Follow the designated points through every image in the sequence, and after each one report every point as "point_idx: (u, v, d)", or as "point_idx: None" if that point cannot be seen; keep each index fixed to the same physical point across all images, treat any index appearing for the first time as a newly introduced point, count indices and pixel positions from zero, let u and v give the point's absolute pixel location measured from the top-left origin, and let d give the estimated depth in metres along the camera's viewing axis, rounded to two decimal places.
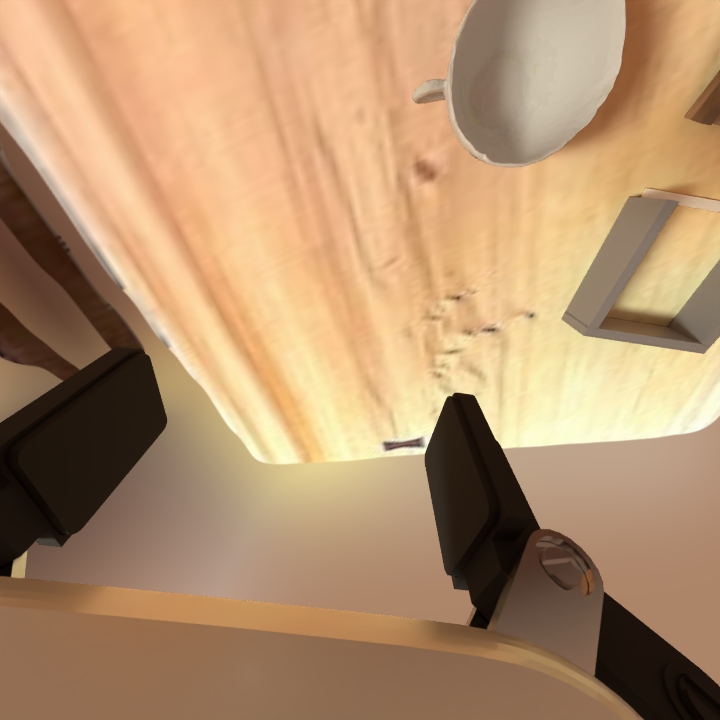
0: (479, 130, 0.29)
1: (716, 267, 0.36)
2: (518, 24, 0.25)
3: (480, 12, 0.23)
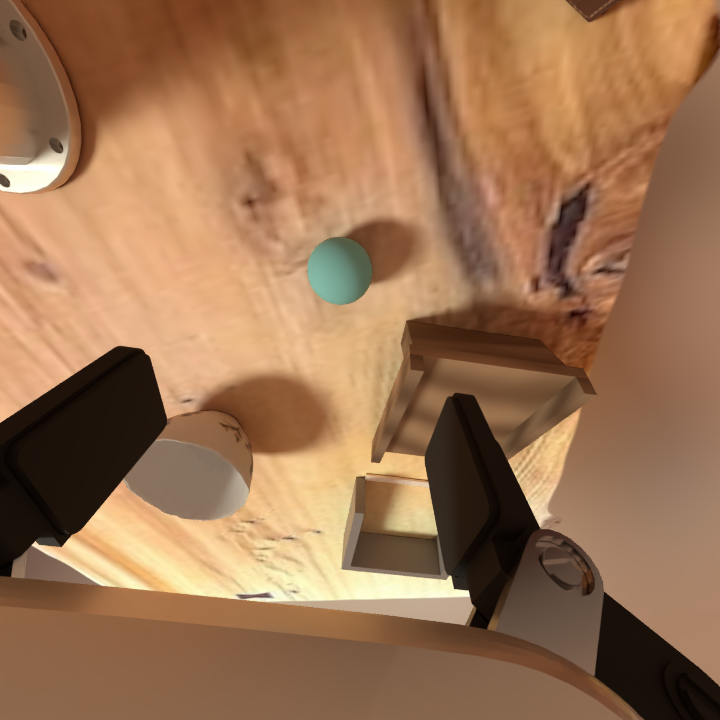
0: (209, 451, 0.36)
1: None
2: None
3: None
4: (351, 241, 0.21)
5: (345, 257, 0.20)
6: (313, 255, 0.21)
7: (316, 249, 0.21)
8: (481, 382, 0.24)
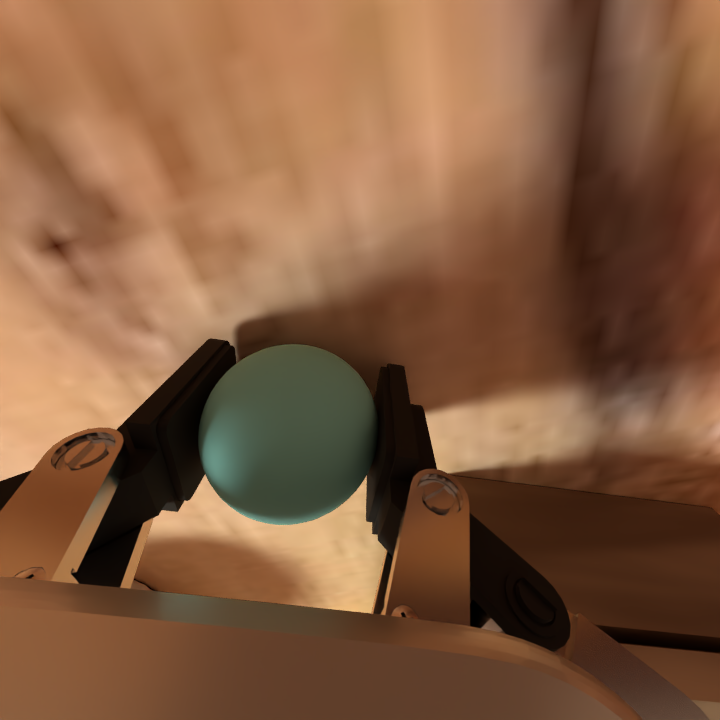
0: None
1: None
2: None
3: None
4: (318, 371, 0.07)
5: (292, 444, 0.06)
6: (205, 412, 0.07)
7: (215, 393, 0.07)
8: None
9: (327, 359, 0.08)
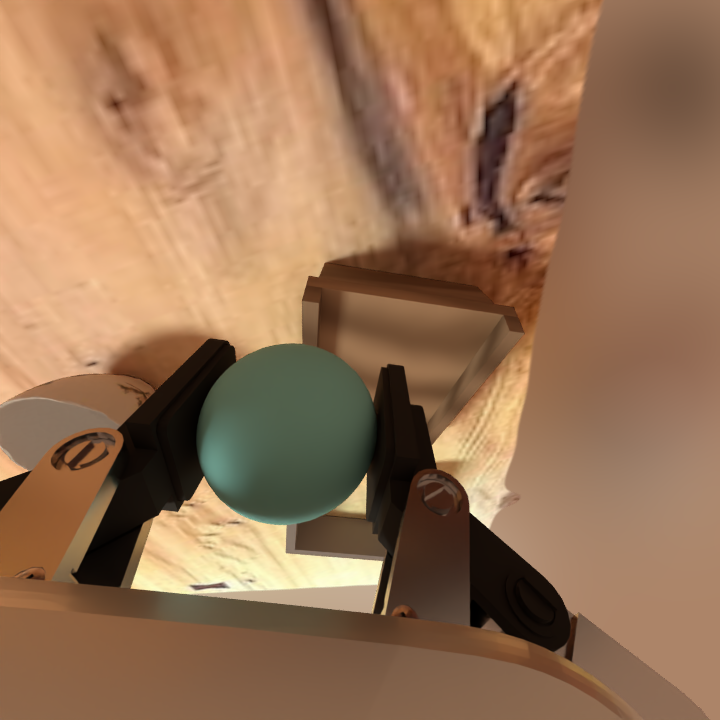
0: None
1: None
2: None
3: None
4: (316, 370, 0.07)
5: (290, 443, 0.06)
6: (203, 412, 0.07)
7: (213, 392, 0.07)
8: (399, 325, 0.21)
9: (325, 358, 0.08)
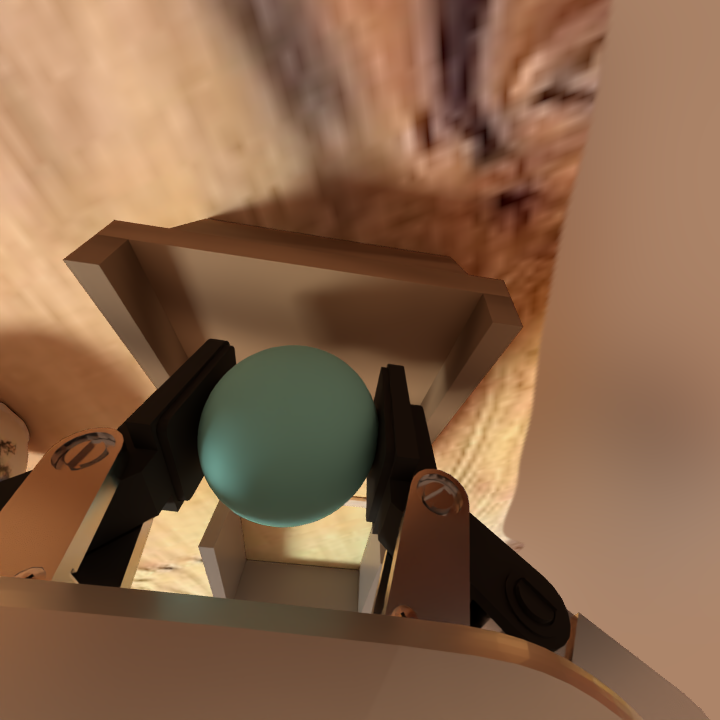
0: None
1: (369, 537, 0.31)
2: None
3: None
4: (317, 372, 0.07)
5: (291, 446, 0.06)
6: (204, 414, 0.07)
7: (214, 394, 0.07)
8: (299, 314, 0.12)
9: (327, 360, 0.08)
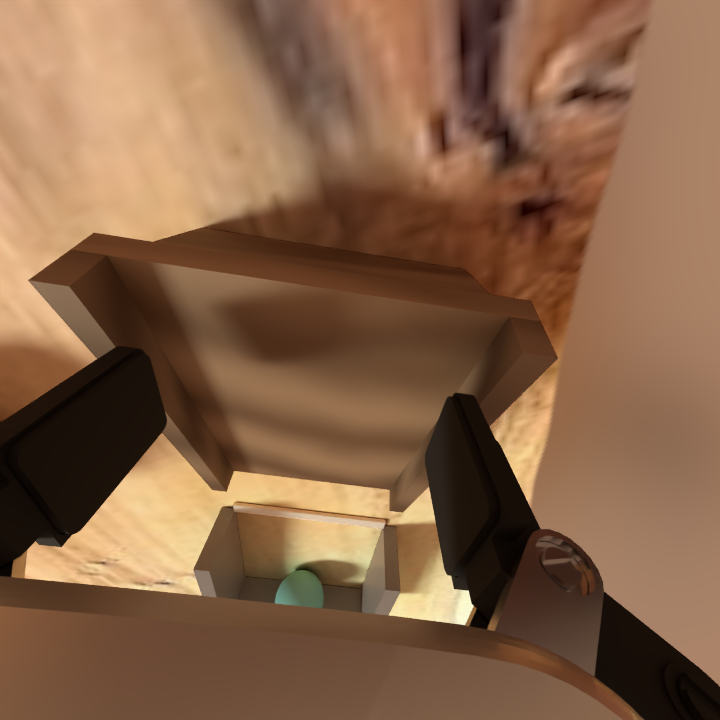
0: None
1: (373, 557, 0.30)
2: None
3: None
4: None
5: None
6: None
7: None
8: (300, 336, 0.10)
9: None
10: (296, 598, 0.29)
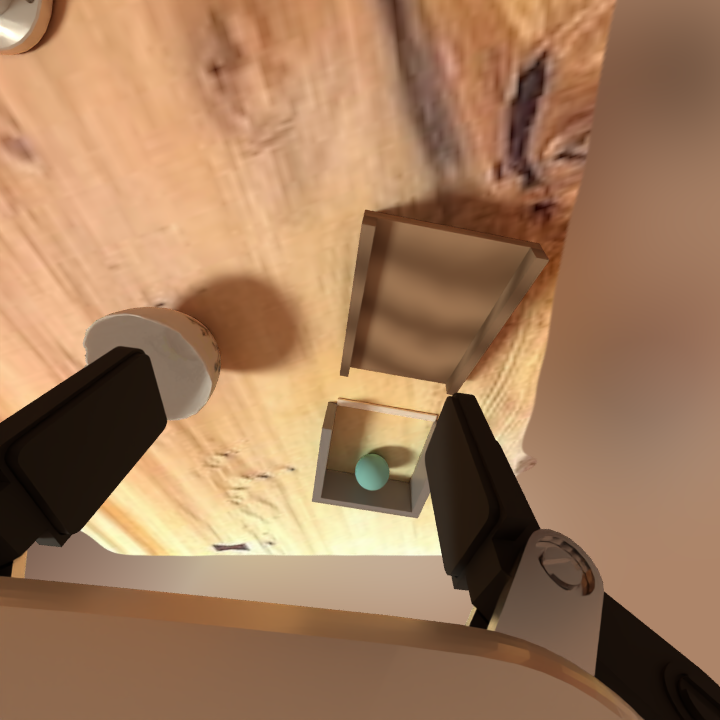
0: (181, 363, 0.37)
1: (423, 448, 0.43)
2: None
3: (119, 323, 0.30)
4: (377, 478, 0.40)
5: (373, 488, 0.41)
6: (358, 478, 0.41)
7: (359, 477, 0.41)
8: (438, 257, 0.24)
9: (379, 474, 0.41)
10: (374, 456, 0.42)
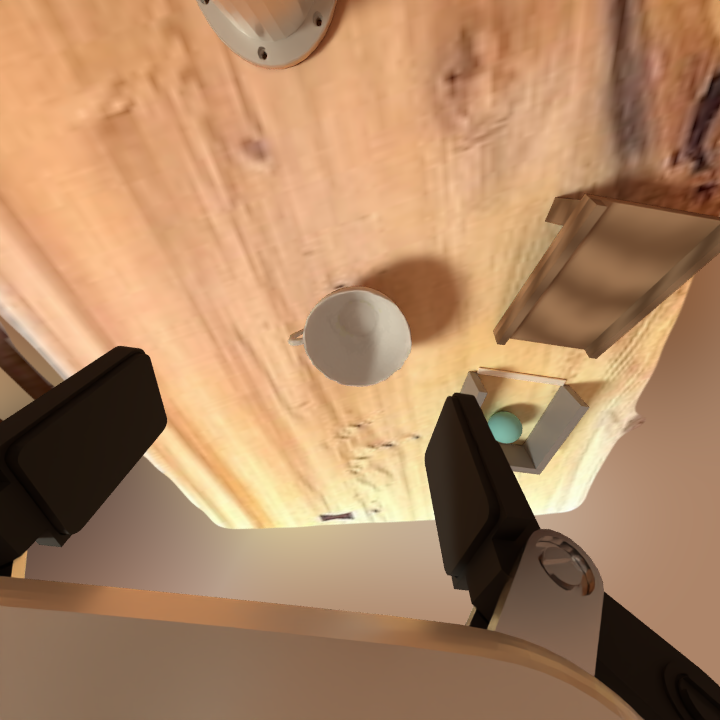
0: (349, 339, 0.41)
1: (545, 412, 0.48)
2: (359, 292, 0.37)
3: (325, 301, 0.35)
4: (516, 421, 0.45)
5: (515, 433, 0.45)
6: (497, 427, 0.45)
7: (499, 424, 0.45)
8: (636, 233, 0.28)
9: (516, 418, 0.46)
10: None
